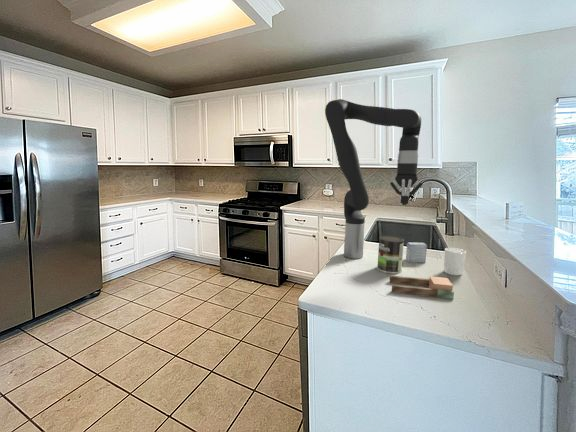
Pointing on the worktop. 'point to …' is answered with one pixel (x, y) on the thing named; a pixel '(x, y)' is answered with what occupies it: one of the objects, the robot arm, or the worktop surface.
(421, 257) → the medicine box
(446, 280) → the terracotta block
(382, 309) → the worktop surface
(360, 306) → the worktop surface
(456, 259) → the white cup
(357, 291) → the worktop surface
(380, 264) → the coffee can
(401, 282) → the walnut chute
